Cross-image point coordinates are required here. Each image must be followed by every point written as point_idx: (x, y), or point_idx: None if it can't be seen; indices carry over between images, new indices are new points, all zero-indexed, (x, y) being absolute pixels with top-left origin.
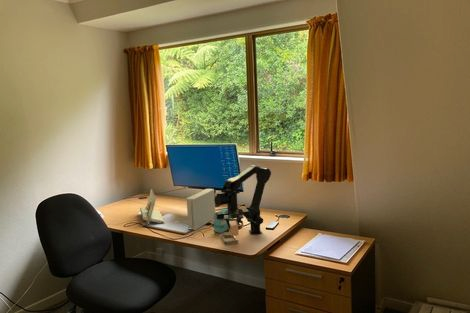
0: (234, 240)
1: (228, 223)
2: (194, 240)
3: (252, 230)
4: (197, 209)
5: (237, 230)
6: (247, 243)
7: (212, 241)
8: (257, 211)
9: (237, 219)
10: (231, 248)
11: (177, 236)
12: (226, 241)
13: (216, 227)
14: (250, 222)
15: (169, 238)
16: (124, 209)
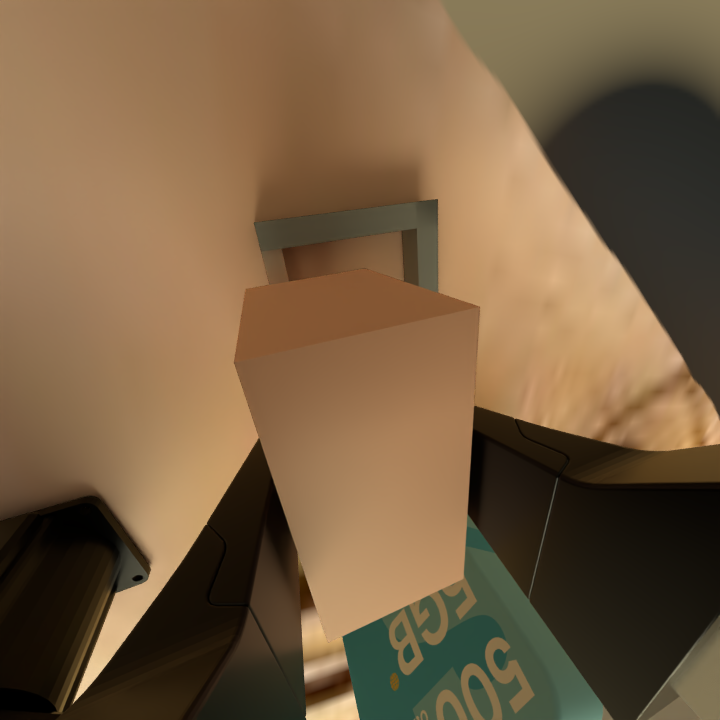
0: (309, 238)
1: (524, 436)
2: (610, 349)
3: (65, 558)
4: (682, 709)
5: (263, 304)
6: (95, 187)
7: (509, 318)
8: None
9: (271, 681)
10: (349, 15)
11: (657, 417)
12: (414, 219)
13: (474, 530)
14: (53, 708)
15: (698, 387)
16: None
